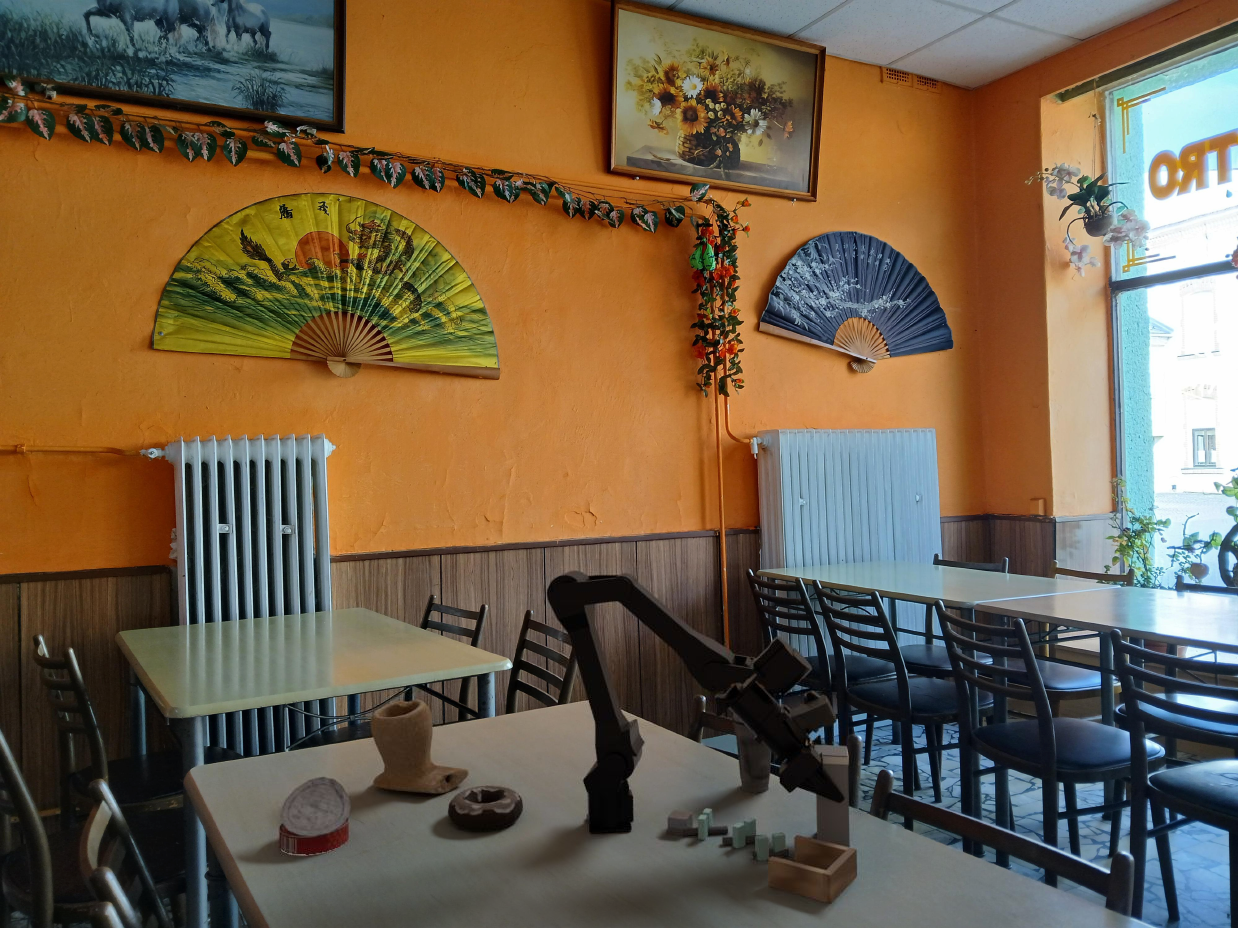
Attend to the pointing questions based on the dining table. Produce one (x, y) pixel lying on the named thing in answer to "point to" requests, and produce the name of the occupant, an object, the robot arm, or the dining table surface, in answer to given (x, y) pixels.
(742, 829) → the cable clips
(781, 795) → the dining table surface
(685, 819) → the brown grey short block
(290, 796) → the canned food
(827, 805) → the tall grey box
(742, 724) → the beverage cup
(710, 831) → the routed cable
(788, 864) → the end holder
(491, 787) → the donut
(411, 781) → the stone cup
